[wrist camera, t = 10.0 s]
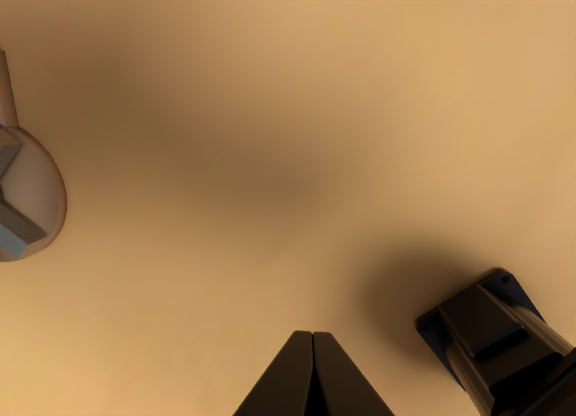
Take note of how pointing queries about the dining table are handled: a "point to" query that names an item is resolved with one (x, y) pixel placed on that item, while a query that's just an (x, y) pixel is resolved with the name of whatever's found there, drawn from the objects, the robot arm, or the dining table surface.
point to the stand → (29, 176)
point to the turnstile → (5, 224)
